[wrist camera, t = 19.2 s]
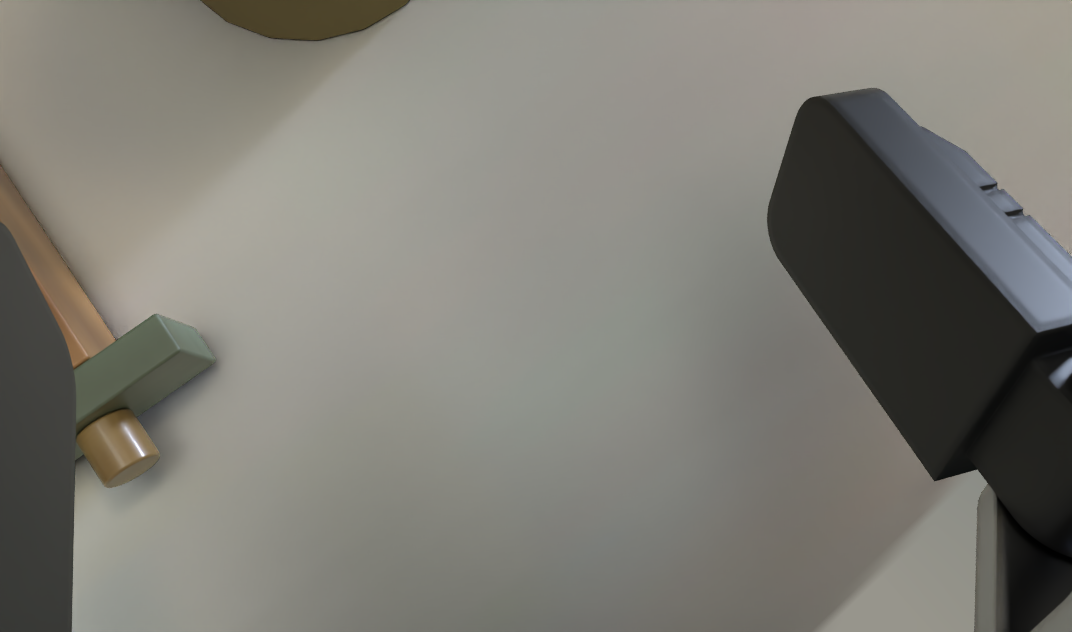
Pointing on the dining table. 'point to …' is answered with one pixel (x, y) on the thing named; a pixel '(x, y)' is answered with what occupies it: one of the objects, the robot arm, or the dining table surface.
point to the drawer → (106, 356)
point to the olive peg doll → (303, 16)
